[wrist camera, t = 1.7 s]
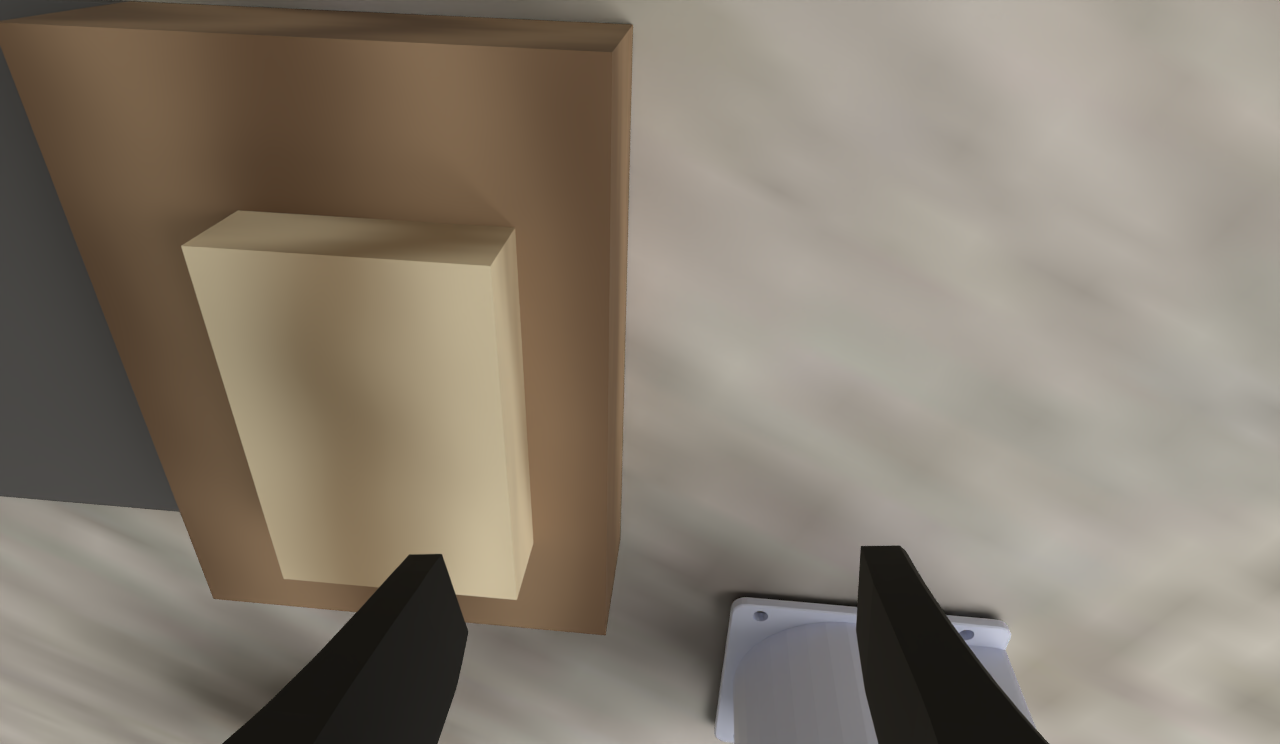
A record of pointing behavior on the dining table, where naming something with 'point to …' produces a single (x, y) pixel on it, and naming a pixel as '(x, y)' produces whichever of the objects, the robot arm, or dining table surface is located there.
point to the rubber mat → (59, 339)
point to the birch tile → (375, 391)
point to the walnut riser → (358, 188)
